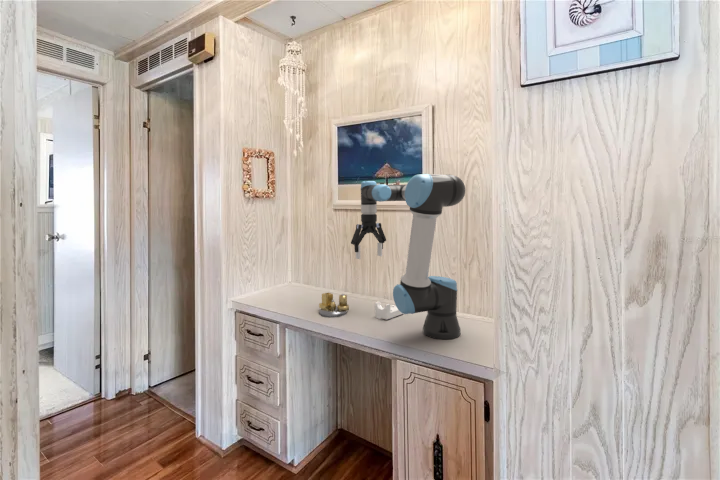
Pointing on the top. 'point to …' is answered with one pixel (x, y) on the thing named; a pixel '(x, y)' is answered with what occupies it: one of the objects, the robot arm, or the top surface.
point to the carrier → (339, 309)
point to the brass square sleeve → (326, 301)
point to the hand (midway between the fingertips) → (369, 257)
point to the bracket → (386, 311)
